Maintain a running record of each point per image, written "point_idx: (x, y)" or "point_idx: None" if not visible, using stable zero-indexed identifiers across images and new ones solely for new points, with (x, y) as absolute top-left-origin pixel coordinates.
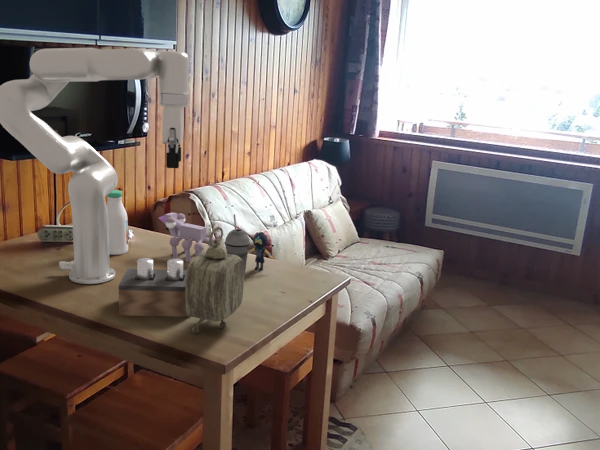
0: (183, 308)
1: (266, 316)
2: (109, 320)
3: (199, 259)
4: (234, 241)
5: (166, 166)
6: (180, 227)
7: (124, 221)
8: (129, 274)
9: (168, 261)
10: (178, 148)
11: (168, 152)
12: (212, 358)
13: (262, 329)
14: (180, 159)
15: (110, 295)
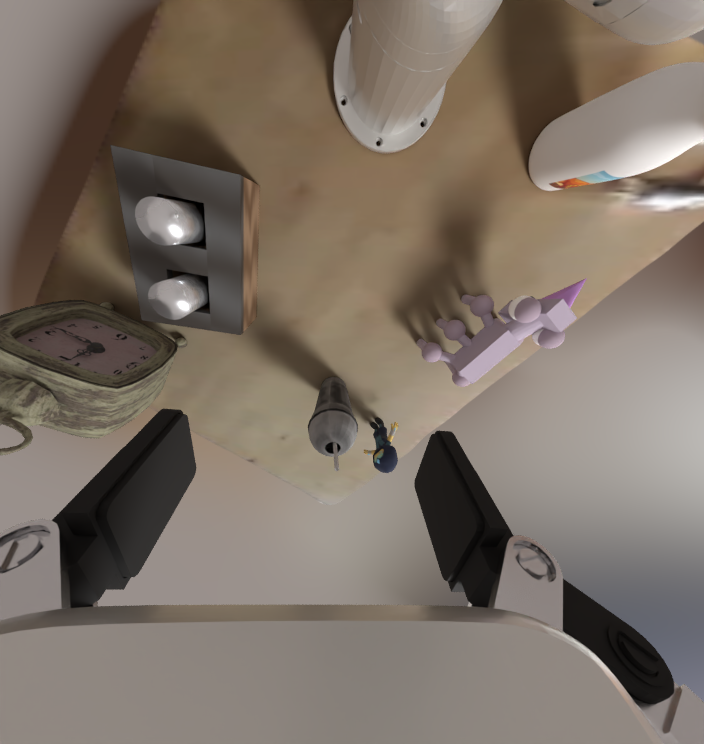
0: None
1: (194, 406)
2: (130, 139)
3: (4, 362)
4: (310, 428)
5: (160, 411)
6: (503, 329)
7: (601, 165)
8: (195, 179)
9: (163, 284)
10: (449, 569)
11: (15, 540)
12: None
13: None
14: (417, 494)
15: (266, 140)
